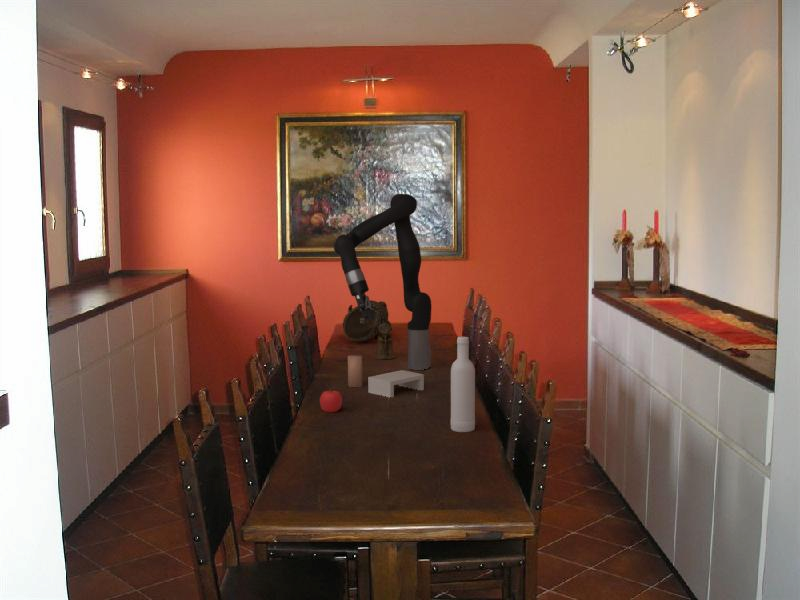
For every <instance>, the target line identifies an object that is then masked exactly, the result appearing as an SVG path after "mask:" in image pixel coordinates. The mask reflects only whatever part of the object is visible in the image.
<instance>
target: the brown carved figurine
mask: <svg viewBox="0 0 800 600" xmlns="http://www.w3.org/2000/svg"><path fill="white" fill-rule="evenodd" d="M378 329H379V331H380V332H381V333H380V334H379V336H378V340H377V348H376V353H375V357H374V358H375V359H377V360H381V359H382V360H384V361H385V360H386V359H389V360H394V359H396V357H395V356H396V354H395V351H394V350H395V349H394V344H393V341H394V337H393V336H392V333H391V332H392V331H391V330H393V327H392V324H391V325H390V324H388V323H386V322H384V323H382V324H380V325H379V327H378ZM393 358H394V359H393Z"/></svg>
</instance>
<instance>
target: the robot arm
mask: <svg viewBox="0 0 800 600" xmlns="http://www.w3.org/2000/svg"><path fill="white" fill-rule="evenodd" d="M389 202H390V203H389V207H388V208H387V209H385V210H383V211H381V212H379V213H377V214H375V215H374V216H373V215H372V216H370V217H369V218H367V219H365V220H363V221H362V222H360V223H359V224H358V225H356V226H354V227H353V228H352V230H350V232H348V233H347V234H340V235H339V236H338V237H336V239H335V241H334V243H333V250H334V252H335V253H336V254H337V255H339V257H340V259H341V268H342V271H343V274H344V277H345V281H346V283H347V286H348V289H349V292H350V295H351V296H352V297H354V298H355V301H356V303H357V304H356V305H357V306H358V307H359V310H361V311H362V314H363V317H364V319H365V320H367V319H369V320H370V321H372V320H374V319H375V318H374V315H373V312H372V309H373V307H372V305H371V302H370V297H369V295H367V294H366V293H368V291H369V290H370V289H369V286H368V283H367V280H366V277H365V274H364V272H363V271H362V268H361V265H360V263H359V260H358V258H357V252H356V248H357V247H358V246H359V245H360V244H362V243H363V242H365V241H367V240H369V239H370V238H371V237H373V236H375V235H376V234H377V233H379V232H380V231H382V230H383V229H385V228H386V227H388V226H391V225H392V224H393V225H394V228H395V234H396V235H395V236H396V243H397V249H398V250H397V252H398V257H399V258H398V259H399V263H400V269H401V277H402V285H403V287H402V288H403V302H404V303H403V304H404V306H405V308H406V309H407V311H409V312H411V320H410V321H408V322H407V369H408V370H411V369H412V371H424V369H426V370H429V369H430V368H431V367H432V365H431V364H432V363H431V362H432V358H431V355H432V354H431V353H432V352H431V351H432V349H431V347H432V346H431V345H430V324H431V321H432V300H431V297H430V295H429V294H428V293H426V292H422V291H421V289H420V283H419V274H420V270H421V266H422V255H421V254H422V253H421V248H420V243H419V241H418V239H417V236H416V234H415V232H414V230H413V227H412V224H411V223H412V222H411V215H413V214H414V213H415V212H416V210H417V207H418V202H417V200H416V198H415V197H414V196H413V195H411V194H407V193H397V194H394V195H393V196H392V197H391V199H390V201H389ZM367 307H369V308H367ZM429 367H430V368H429ZM428 368H429V369H428Z"/></svg>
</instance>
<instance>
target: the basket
mask: <svg viewBox="0 0 800 600" xmlns="http://www.w3.org/2000/svg"><path fill="white" fill-rule="evenodd" d="M369 300H370V299H369ZM370 302H371V305H372V307H373V309H372V312H373V315H374V318H375V319H374V320H372V321H370V320H369V319H367V320H365V319H364V317H363V314H362V311H361V310H359V307H358V305H357V306H354V308H353V304H350V305H349V306H348V309H347V313H346V314H345V317H344V318H343V321H342V328H343V332H344V334H345V335H346V337H347V338H348V339H350V340H352V341H355V342H366V341H369V340H370V339H372V338H373V337H374V339H375V340H377V341H378V336H379V334H380V333H381V332H380V331H379V329H378V327H379V325H380V324H382V323H384V322H386V323H388V324H390V325H391V326H392V323H391V322H390V320H389V310H388V307H387V306H388V305H387V303H386V302H385V301H376V300H370ZM367 308H369V307H367ZM392 331H393V329H392V330H391V331H390V332H392Z"/></svg>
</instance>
